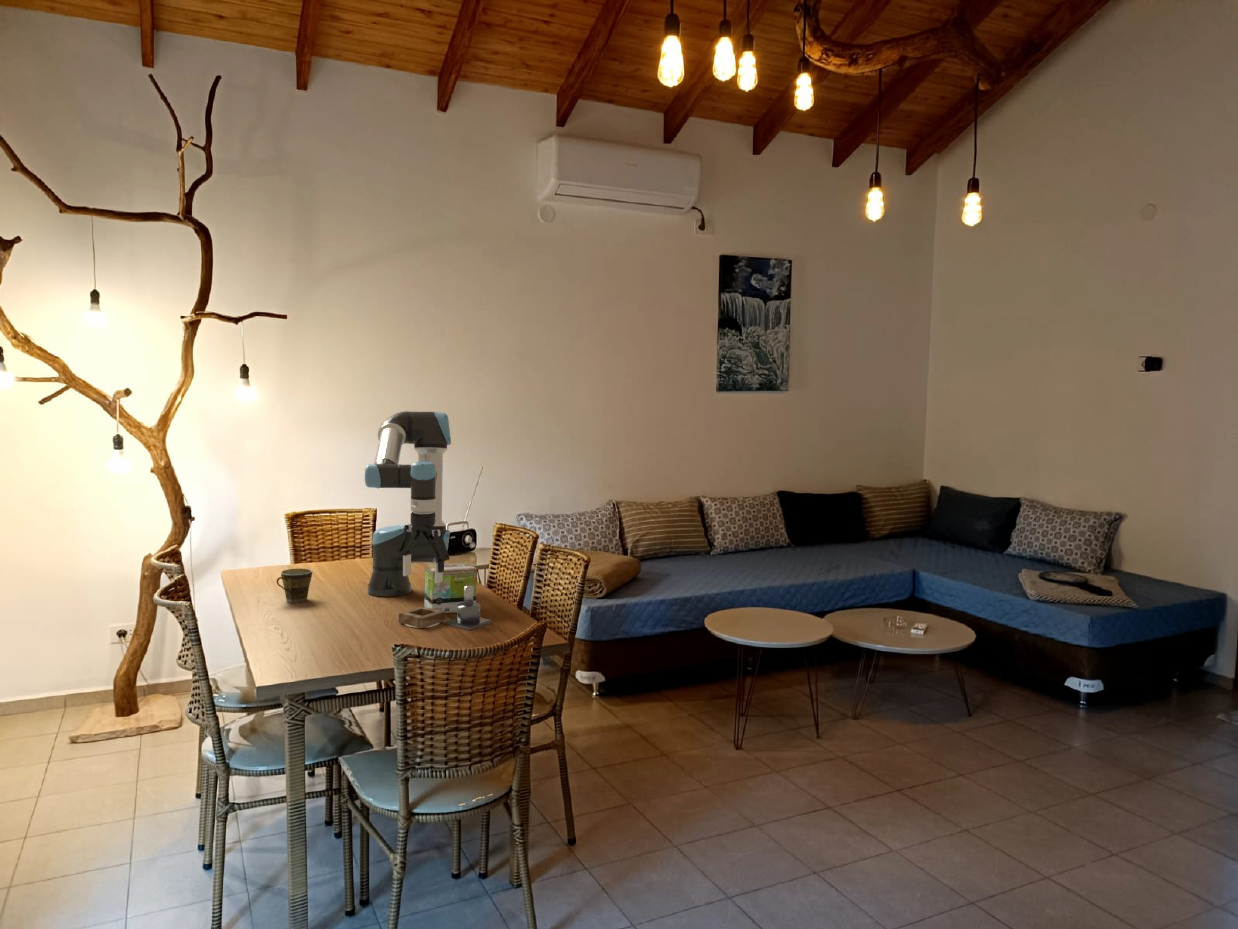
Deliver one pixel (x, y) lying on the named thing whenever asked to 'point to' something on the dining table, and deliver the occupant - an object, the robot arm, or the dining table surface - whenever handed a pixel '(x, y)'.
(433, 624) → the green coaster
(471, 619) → the peg stand
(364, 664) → the dining table surface
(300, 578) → the ceramic cup
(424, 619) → the walnut link
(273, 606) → the dining table surface
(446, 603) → the tea box
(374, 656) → the dining table surface
